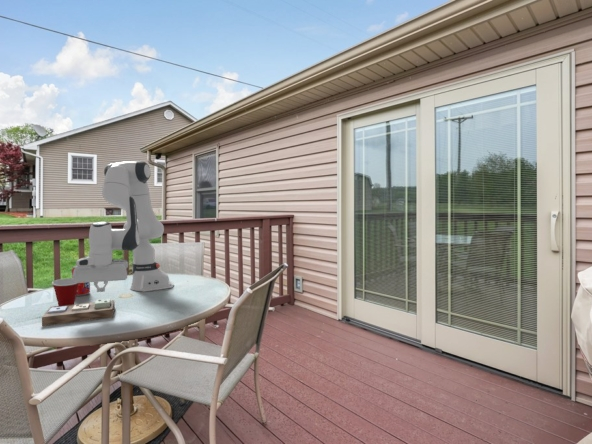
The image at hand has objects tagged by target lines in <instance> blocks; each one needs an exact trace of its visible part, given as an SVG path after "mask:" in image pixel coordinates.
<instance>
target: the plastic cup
mask: <svg viewBox="0 0 592 444" xmlns="http://www.w3.org/2000/svg"><path fill="white" fill-rule="evenodd" d="M51 284H52V286H53V289H54V292H55V297H56V298H55V299H56V302H57V304H58V305H57V306H63V305H73V304H76V303H75V302H76V298H77V296H76V293H77V287H78V284H79V283H74V282H73V278H72V277H71V278H60V279H56V280H52V281H51Z"/></svg>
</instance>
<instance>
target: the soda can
mask: <svg viewBox="0 0 592 444" xmlns="http://www.w3.org/2000/svg"><path fill="white" fill-rule="evenodd" d="M76 266H77V265H73V267H72V268H71V278H73V272H74V269H75V267H76ZM90 292H91V282H87V283H79V284H78V287H77V293H76V297H82V296H86V295H88V294H90Z"/></svg>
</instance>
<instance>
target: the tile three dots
mask: <svg viewBox="0 0 592 444" xmlns="http://www.w3.org/2000/svg"><path fill="white" fill-rule="evenodd" d="M81 304H82V305H74V307H73V308H72V311H77V310H86V309H89V307H90V304H83V303H81Z"/></svg>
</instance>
